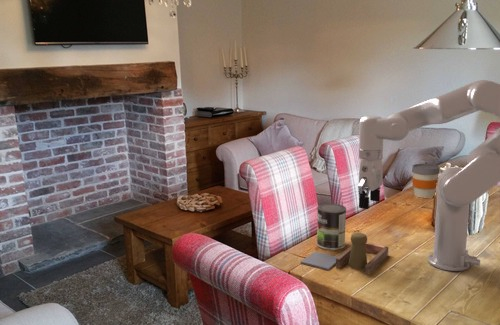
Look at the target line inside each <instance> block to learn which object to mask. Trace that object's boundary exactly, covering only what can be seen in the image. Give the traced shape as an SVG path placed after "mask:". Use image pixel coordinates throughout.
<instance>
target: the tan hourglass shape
mask: <svg viewBox="0 0 500 325" xmlns="http://www.w3.org/2000/svg"><path fill="white" fill-rule="evenodd" d="M350 243H351V246H352V248H351V254H350V259H349V260H348V267H349V268H351V269H353V270H359V271H363V270H365V265H367V264H368V257H367V252H366V247H365V244H366V243H368V236H367V235H366V234H365V233H363V232H359V231H357V232H354V233H352V234H351V235H350Z"/></svg>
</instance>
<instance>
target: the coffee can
mask: <svg viewBox="0 0 500 325" xmlns="http://www.w3.org/2000/svg"><path fill="white" fill-rule="evenodd" d="M316 209H317V217H316V218H317V219H316V220H317V223H316V224H317V226H316V227H317V231H316V233H317V234H316V246H318V248H321V249H323V250H327V251H329V250H330V251H338V250H341V249H344V248H345V247H346V224H347V223H346V221H347V220H346V218H347V207H346V206H345V205H342V204H338V203H322V204H320V205H318V206H316Z"/></svg>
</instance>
